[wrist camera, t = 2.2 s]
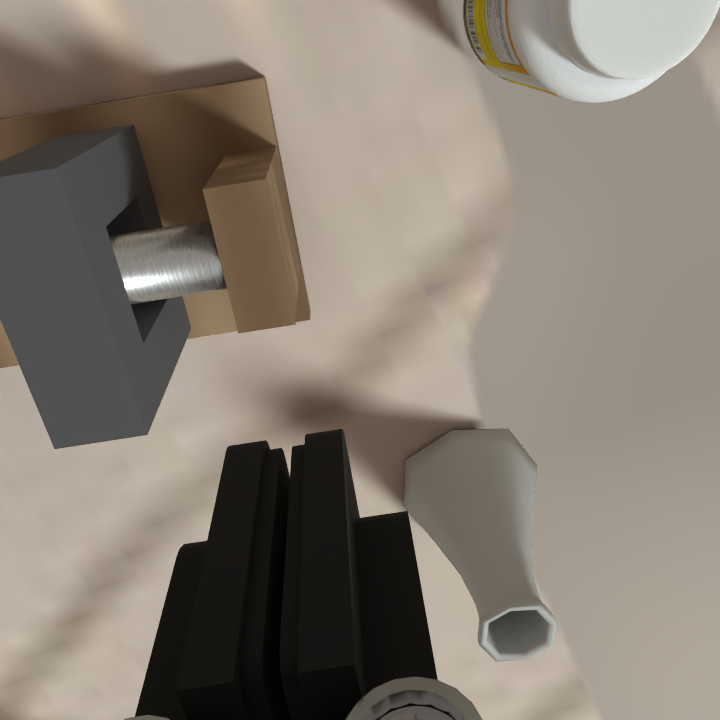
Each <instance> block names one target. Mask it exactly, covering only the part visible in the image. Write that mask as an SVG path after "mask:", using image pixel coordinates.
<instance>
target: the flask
mask: <svg viewBox="0 0 720 720" xmlns="http://www.w3.org/2000/svg"><path fill="white" fill-rule="evenodd" d="M536 473H537V465H536V463H535V462H534V461H533V459H532V458H531V457H530V456H529V455H528V453H527V452H526V450H525V449H524V448H523V447H522V445H521V444H520V443H519V442H518V440H517V439H516V438H515V436H514V435H513V434H512V433H511V431H510V430H509V429H477V430H452V431H450V432H448V433H447V434H445V435H444V436H442V437H441V438H439V439H438V440H436V441H435V442H433V443H431V444H430V445H428V446H427V447H425V448H424V449H422V450H421V451H419V452H417V453H416V454H414V455H413V456H411V457H410V458H408V459H407V460H405V490H404V506H405V507H406V508H407V510H408V511H409V512H410V513H411V515H412V516H413V517H414V518H415V519H416V520H417V522H418V523H419V524H420V525H421V526H422V528H423V529H424V530H425V531H426V532H427V533H428V535H429V536H430V537H431V538H432V539H433V540H434V542H435V543H436V544H437V545H438V547H439V548H440V549H441V551H442V552H443V553H444V554H445V556H446V557H447V558H448V560H449V561H450V562H451V563H452V565H453V566H454V567H455V569H456V570H457V571H458V572H459V574H460V575H461V577H462V579H463V581H464V583H465V585H466V587H467V589H468V590H469V592H470V594H471V596H472V598H473V600H474V602H475V604H476V608H477V611H478V615H479V618H480V619H479V629H478V642H479V645H480V646H481V647H482V648H483V649H484V650H485V651H486V652H487V653H488V654H489V655H490V656H491V657H492V658H493V659H494V660H495V661H516V660H527V659H529V658H531V657H533V656H535V655H537V654H539V653H541V652H542V651H544V650H546V649H548V648H550V647H552V646H553V644H554V639H555V633H556V627H557V621H556V618H555V617H554V615H553V614H552V613H551V612H550V611H549V610H548V608H547V607H546V606H545V605H544V604H543V603H542V602H541V599H540V597H539V594H538V591H537V588H536V584H535V577H534V571H533V564H532V558H531V547H532V523H533V507H534V497H535V486H536Z"/></svg>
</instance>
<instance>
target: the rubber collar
mask: <svg viewBox="0 0 720 720" xmlns="http://www.w3.org/2000/svg"><path fill="white" fill-rule="evenodd" d="M162 227H163V226H162V222H161V219H160V215H159V212H158V208H157V205H156V201H155V198H154V194H153V191H152V187H151V183H150V180H149V176H148V173H147V169H146V166H145V162H144V159H143V155H142V152H141V148H140V144H139V141H138V137H137V134H136V130H135V127H134V124H133V125H127V126H121V127H114V128H108V129H102V130H96V131H90V132H83V133H77V134H71V135H65V136H59V137H54V138H52V139H49V140H47V141H45V142H43V143H40V144H38V145H36V146H34V147H31V148H29V149H27V150H25V151H22V152H20V153H18V154H16V155H13V156H11V157H9V158H7V159H4V160H2V161H0V320H1V322H2V325H3V327H4V329H5V332H6V334H7V337H8V339H9V341H10V344H11V346H12V349H13V351H14V353H15V356H16V358H17V360H18V363H19V365H20V368H21V370H22V372H23V375H24V377H25V380H26V382H27V384H28V387H29V389H30V391H31V394H32V396H33V399H34V401H35V403H36V406H37V408H38V411H39V413H40V415H41V418H42V420H43V422H44V425H45V427H46V430H47V432H48V434H49V437H50V439H51V442H52V444H53V446H54V449H58V448H65V447H71V446H78V445H84V444H91V443H97V442H104V441H110V440H117V439H123V438H130V437H136V436H143V435H147V434H148V432H149V430H150V427H151V425H152V422H153V420H154V417H155V415H156V413H157V410H158V408H159V405H160V403H161V400H162V398H163V396H164V393H165V391H166V388H167V386H168V383H169V381H170V379H171V376H172V374H173V371H174V369H175V366H176V364H177V362H178V359H179V357H180V354H181V352H182V349H183V347H184V345H185V342H186V340H187V337H188V335H189V332H190V330H191V325H190V321H189V318H188V314H187V311H186V307H185V304H184V300H183V297H182V296H179V297H173V298H167V299H160V300H154V301H148V302H141V303H135V304H130V300H129V297H128V294H127V291H126V288H125V285H124V282H123V279H122V276H121V272H120V269H119V266H118V263H117V260H116V257H115V254H114V251H113V248H112V244H111V241H110V238H109V236H112V235H118V234H125V233H131V232H137V231H144V230H150V229H156V228H162Z"/></svg>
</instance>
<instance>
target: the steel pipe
mask: <svg viewBox="0 0 720 720" xmlns="http://www.w3.org/2000/svg"><path fill="white" fill-rule="evenodd" d="M109 238H110V241H111V244H112V248H113V251H114V254H115V257H116V260H117V263H118V266H119V269H120V272H121V276H122V279H123V282H124V285H125V288H126V291H127V294H128V297H129V300H130V304H135V303H141V302H148V301H154V300H160V299H167V298H173V297H179V296H186V295H192V294H199V293H205V292H211V291H218V290H224V289H227V286H226V282H225V278H224V274H223V270H222V266H221V262H220V258H219V254H218V250H217V246H216V242H215V238H214V234H213V230H212V226H211V222H210V220H207V221H200V222H194V223H188V224H181V225H175V226H169V227H162V228H156V229H150V230H144V231H137V232H131V233H125V234H118V235H112V236H109ZM1 324H2V322H1V320H0V325H1Z"/></svg>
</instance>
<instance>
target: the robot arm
mask: <svg viewBox="0 0 720 720" xmlns="http://www.w3.org/2000/svg"><path fill="white" fill-rule="evenodd" d="M124 720H482V718H481V716H480V715H479V713H478V711H477V710H476V708H475V706H474V705H473V703H472V702H471V701H470V700H469V699H467V698H466V697H465V696H464V695H463V694H462V693H461V692H459V691H458V690H457V689H456V688H454V687H452V686H450V685H447V684H445V683H443V682H441V681H439V680H437V674H436V668H435V663H434V657H433V651H432V646H431V640H430V635H429V629H428V623H427V618H426V612H425V606H424V601H423V595H422V589H421V584H420V578H419V572H418V567H417V561H416V555H415V550H414V544H413V539H412V533H411V527H410V522H409V516H408V512H407V511H404V512H398V513H391V514H384V515H378V516H371V517H364V518H360V517H359V511H358V506H357V500H356V495H355V490H354V484H353V479H352V473H351V468H350V463H349V457H348V452H347V446H346V441H345V436H344V432H343V429H338V430H331V431H325V432H318V433H312V434H306V435H305V445H298V446H293V447H292V456H291V472H290V476H289V472H288V467H287V463H286V459H285V455H284V452H283V450H282V448H279V449H272V450H270V447H269V445H268V442H267V441H266V440H265V441H259V442H252V443H245V444H239V445H232V446H229V447H228V448H227V450H226V455H225V459H224V464H223V469H222V474H221V478H220V483H219V488H218V493H217V497H216V502H215V507H214V512H213V516H212V521H211V526H210V530H209V535H208V540H207V541H203V542H196V543H189V544H184V545H183V546H182V547H181V548H180V550H179V552H178V555H177V558H176V561H175V565H174V569H173V573H172V577H171V580H170V584H169V588H168V592H167V596H166V600H165V603H164V607H163V611H162V615H161V619H160V623H159V626H158V630H157V634H156V638H155V642H154V646H153V649H152V653H151V657H150V661H149V665H148V669H147V672H146V676H145V680H144V684H143V688H142V692H141V695H140V699H139V703H138V707H137V711H136V714H135V717H131V718H126V719H124Z"/></svg>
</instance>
